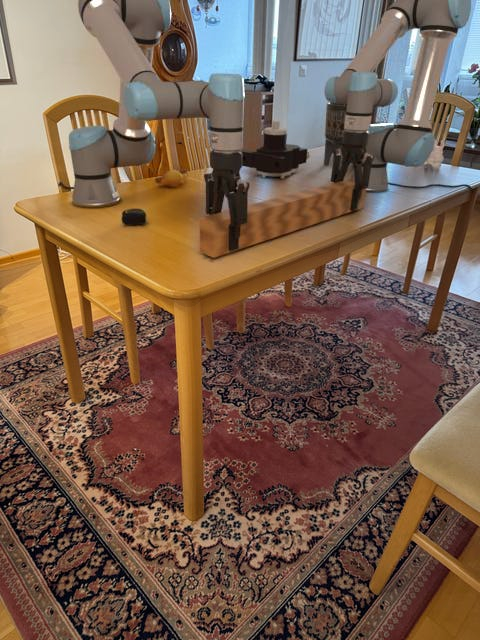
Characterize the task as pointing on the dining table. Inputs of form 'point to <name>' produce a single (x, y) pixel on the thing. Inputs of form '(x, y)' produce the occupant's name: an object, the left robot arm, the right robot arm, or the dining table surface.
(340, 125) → the planter
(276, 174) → the mechanical component
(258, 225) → the beam
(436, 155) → the figurine
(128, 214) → the tape measure
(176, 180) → the toy
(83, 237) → the dining table surface
